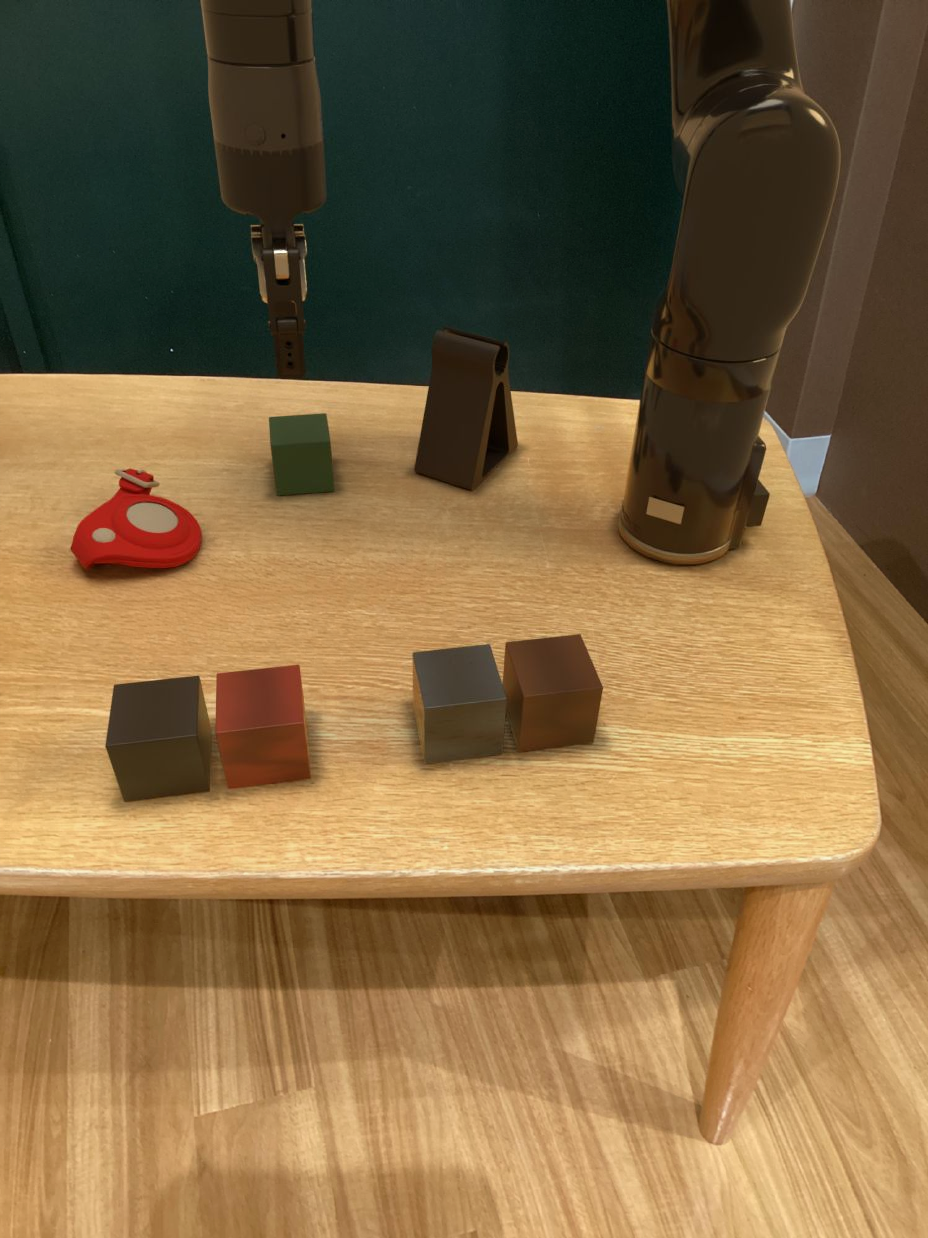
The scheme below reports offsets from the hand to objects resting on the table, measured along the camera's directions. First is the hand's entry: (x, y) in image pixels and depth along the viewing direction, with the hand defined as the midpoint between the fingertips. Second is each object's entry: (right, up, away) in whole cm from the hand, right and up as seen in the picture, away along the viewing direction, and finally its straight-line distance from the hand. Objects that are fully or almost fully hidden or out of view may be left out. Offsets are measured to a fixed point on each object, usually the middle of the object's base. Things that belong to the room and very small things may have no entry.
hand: (288, 352), depth 74 cm
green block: (0, -9, +8) cm, 12 cm away
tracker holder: (-12, -15, +1) cm, 19 cm away
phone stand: (+14, -7, +11) cm, 19 cm away
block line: (+8, -29, -16) cm, 34 cm away
